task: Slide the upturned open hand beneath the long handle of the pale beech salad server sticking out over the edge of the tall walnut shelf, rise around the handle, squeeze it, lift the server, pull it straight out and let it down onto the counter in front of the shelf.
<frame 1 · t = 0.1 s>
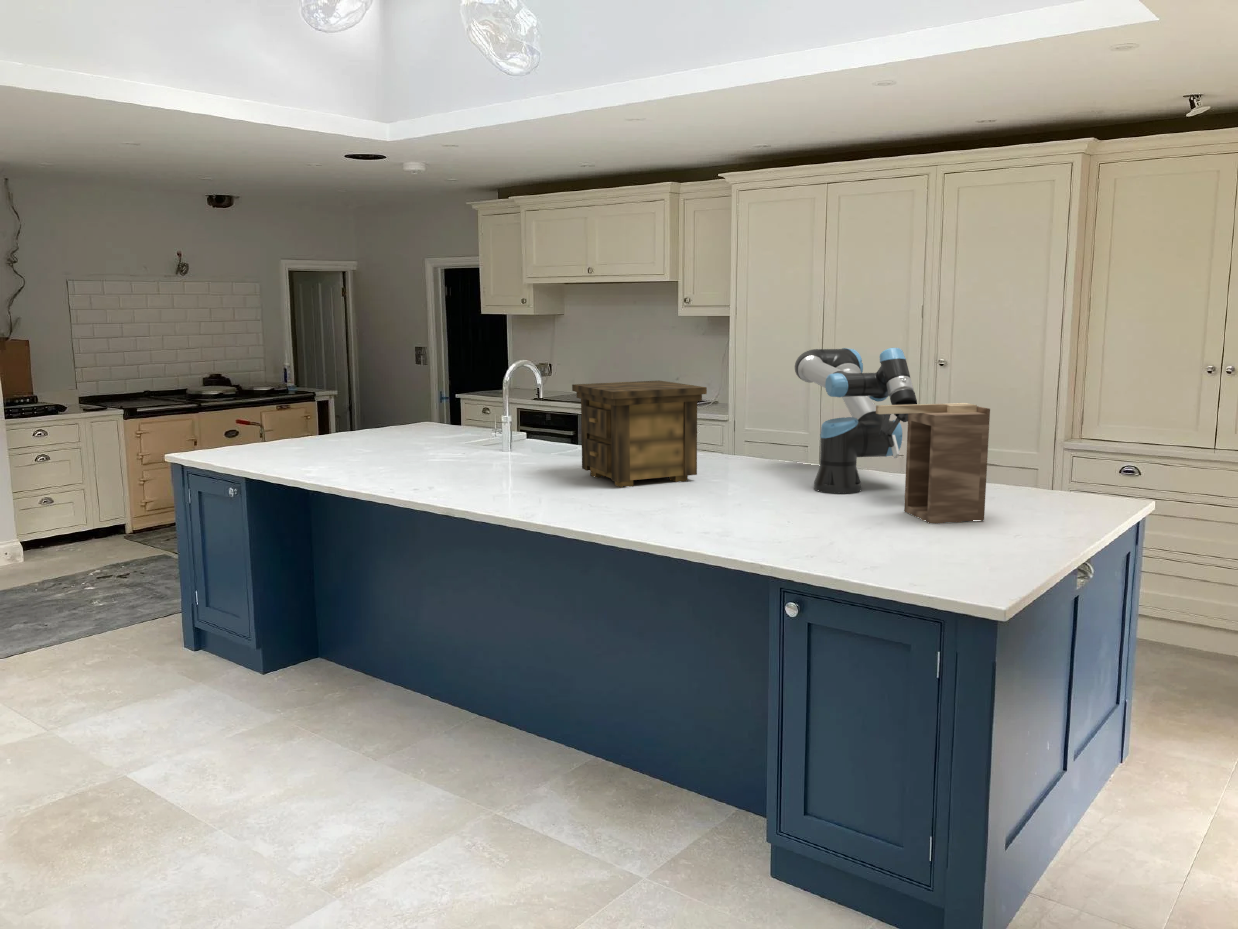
hand: (918, 455, 286), 15 cm above the countertop, tool tilted 35°, fingers open, 13 cm apart
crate: (638, 478, 339), on the countertop
walnut shelf: (943, 516, 274), on the countertop
salad server: (924, 412, 267), point 30 cm above the countertop, touching walnut shelf
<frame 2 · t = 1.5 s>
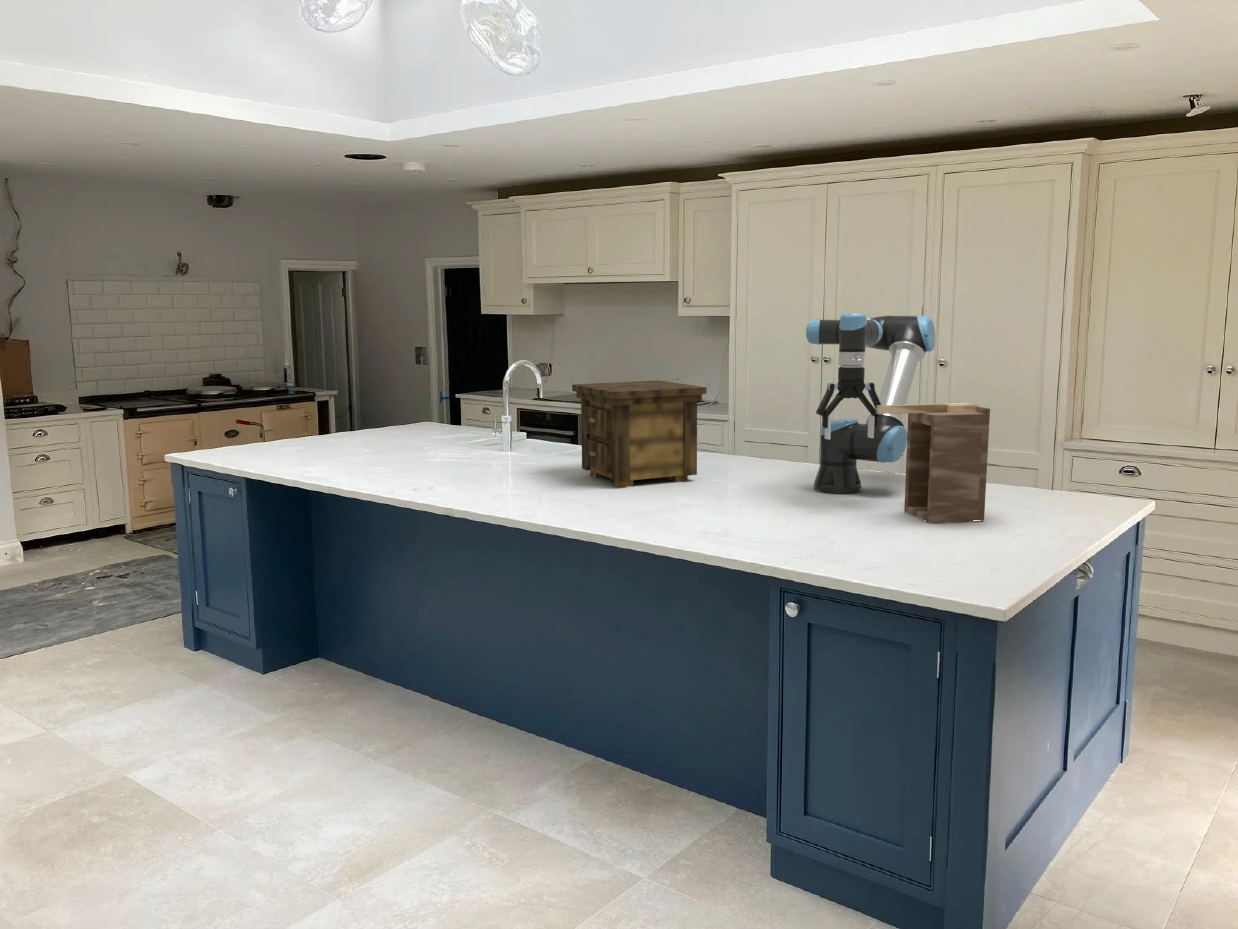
hand: (849, 438, 284), 21 cm above the countertop, tool pointing down, fingers open, 13 cm apart
nothing on the countertop moved.
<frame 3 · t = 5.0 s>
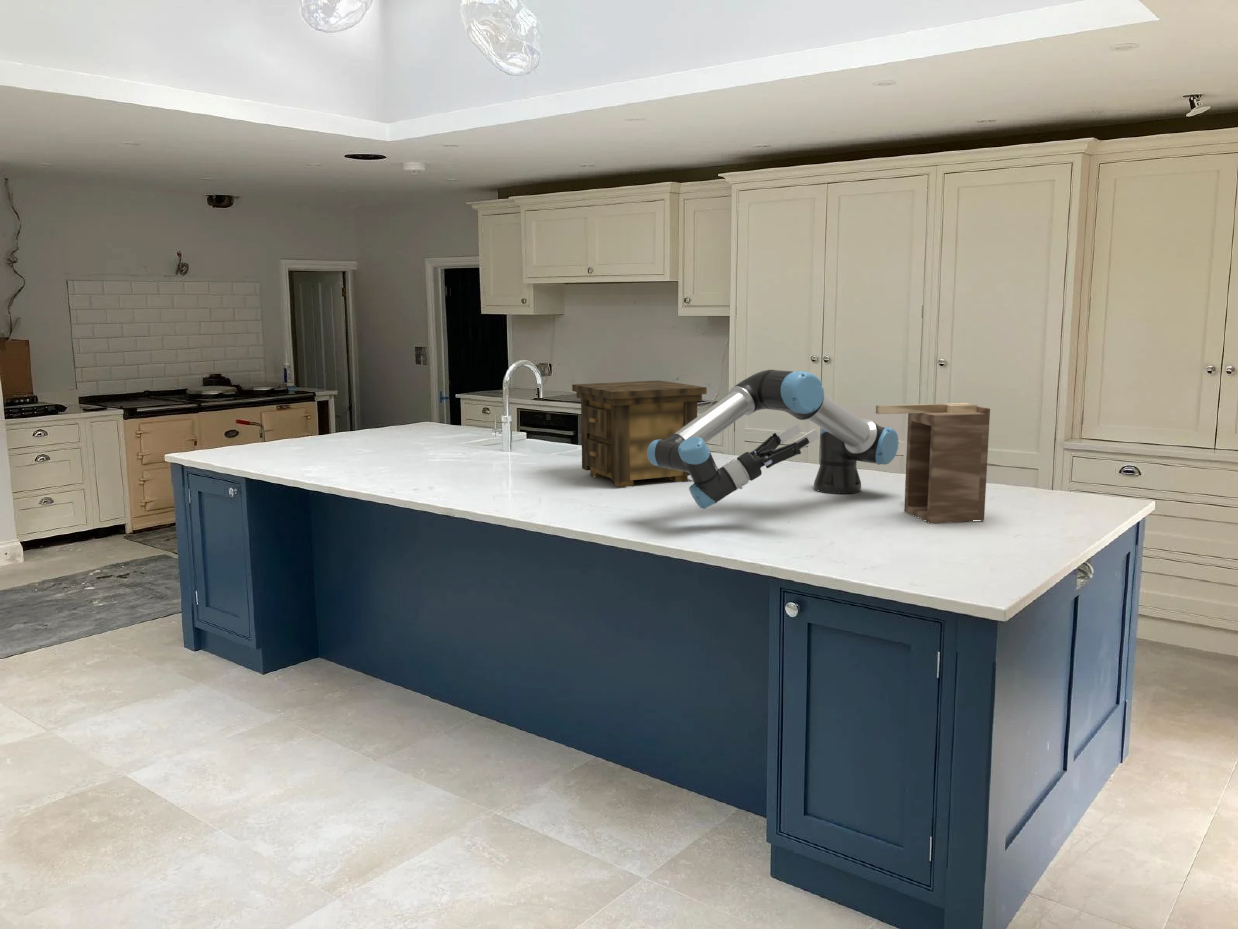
hand: (808, 430, 263), 26 cm above the countertop, tool pointing upward, fingers open, 13 cm apart
nothing on the countertop moved.
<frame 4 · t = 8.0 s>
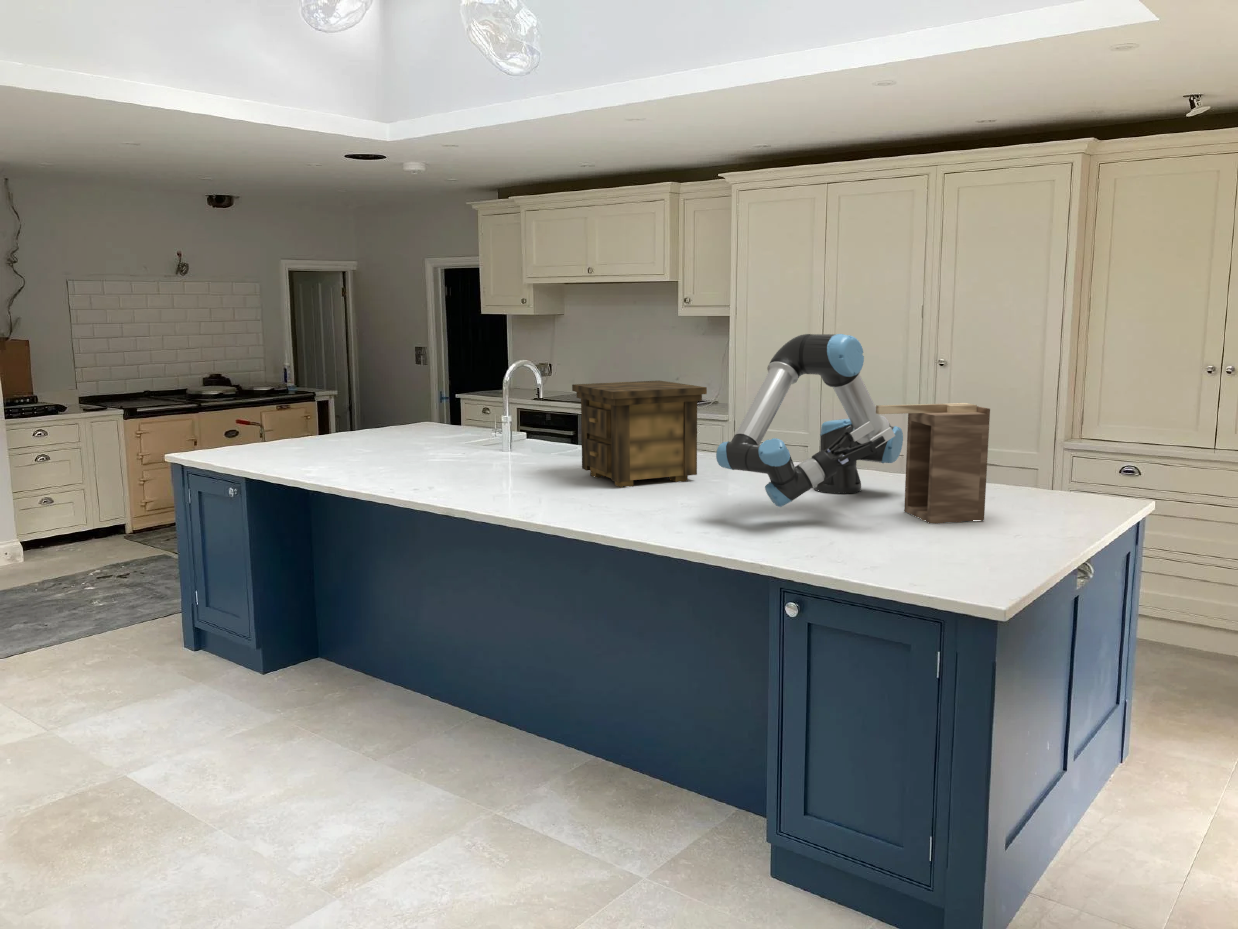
hand: (882, 428, 266), 26 cm above the countertop, tool pointing upward, fingers open, 13 cm apart
nothing on the countertop moved.
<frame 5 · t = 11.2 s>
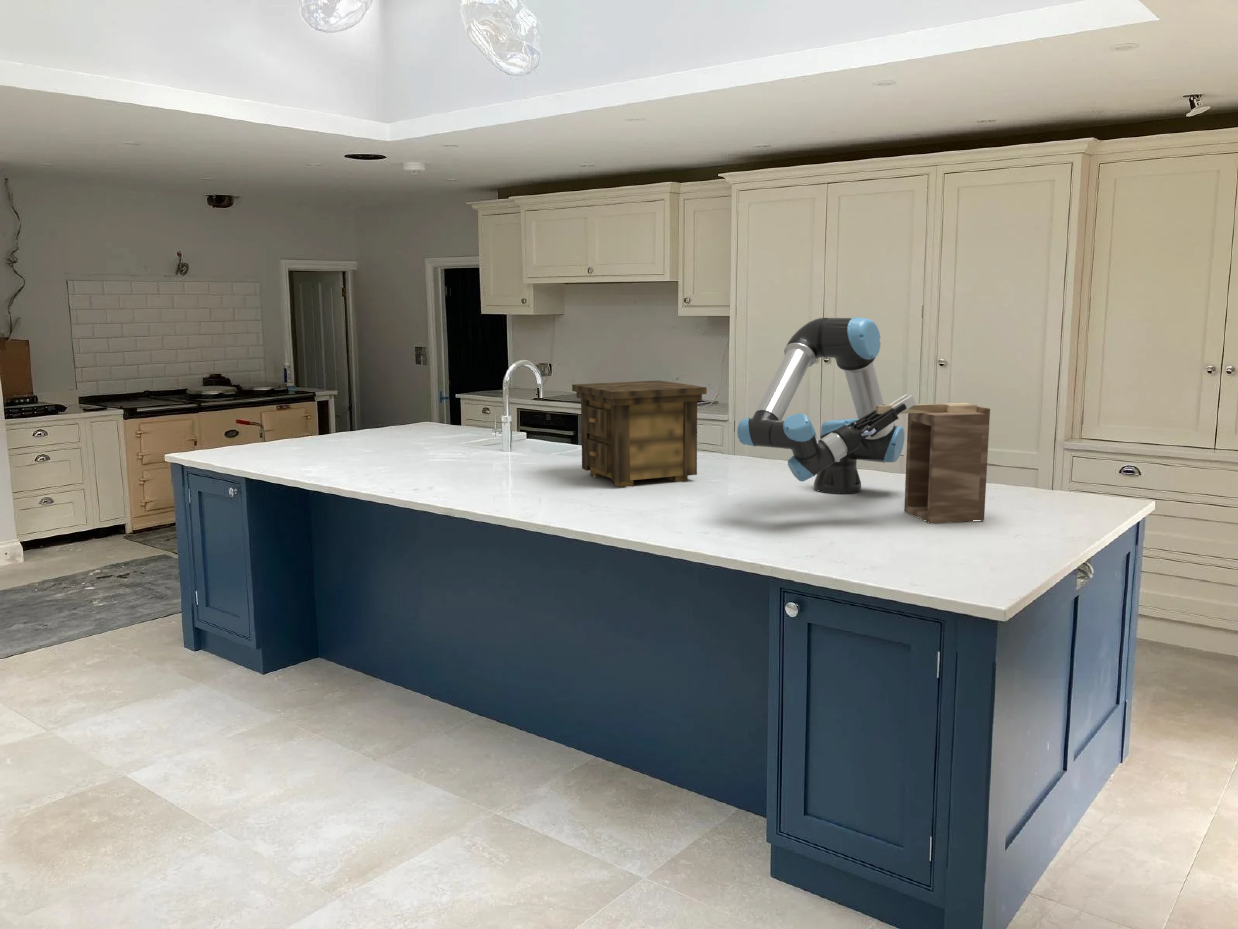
hand: (911, 398, 266), 34 cm above the countertop, tool pointing upward, fingers closed on salad server, 2 cm apart
salad server: (924, 412, 267), point 30 cm above the countertop, touching gripper
everything else where it was.
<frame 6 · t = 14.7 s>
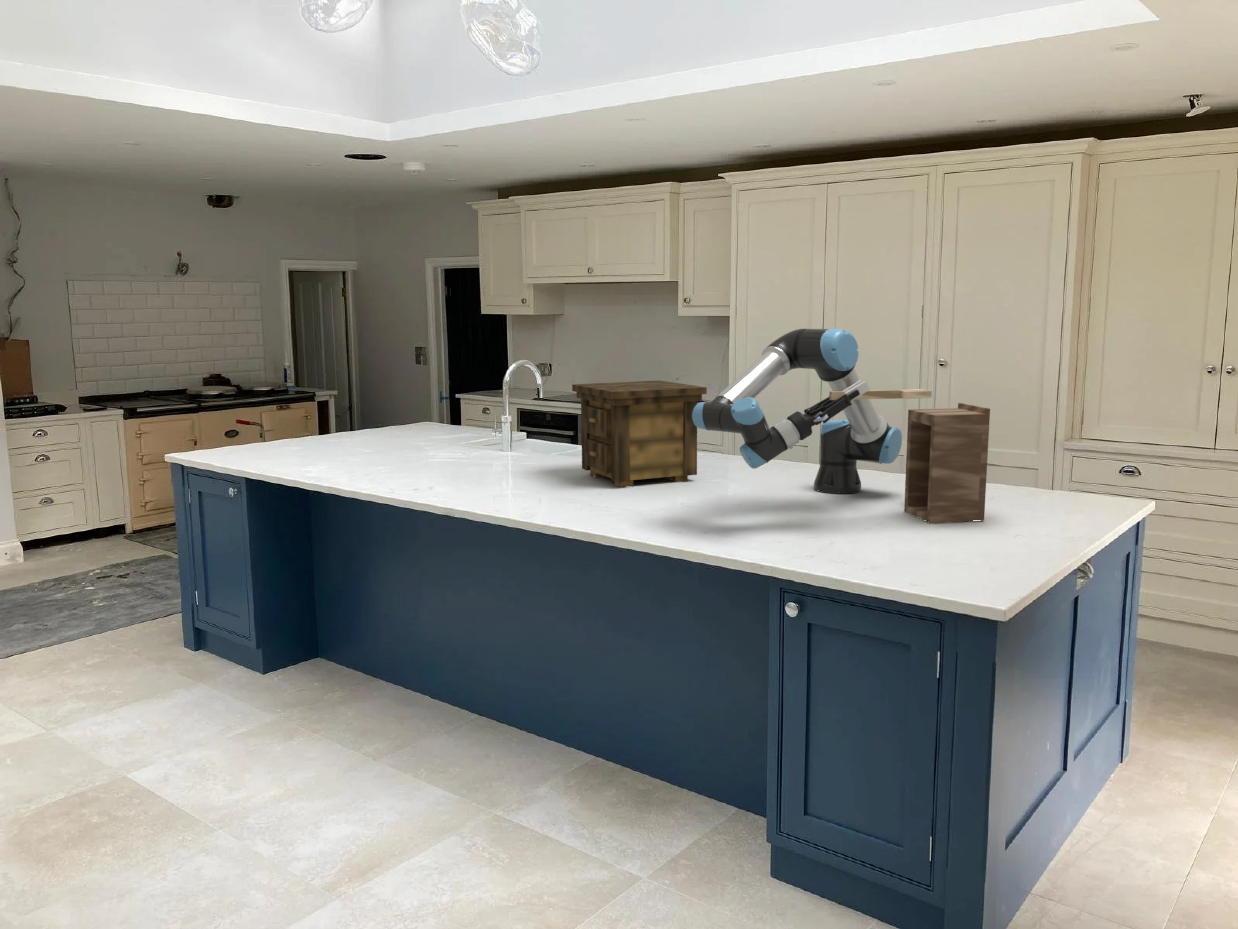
hand: (864, 384, 263), 38 cm above the countertop, tool pointing upward, fingers closed on salad server, 2 cm apart
salad server: (879, 398, 264), point 34 cm above the countertop, touching gripper
everything else where it was.
when the fingers open (26 cm above the countertop, at t = 18.4 s): salad server drops 22 cm, on the countertop.
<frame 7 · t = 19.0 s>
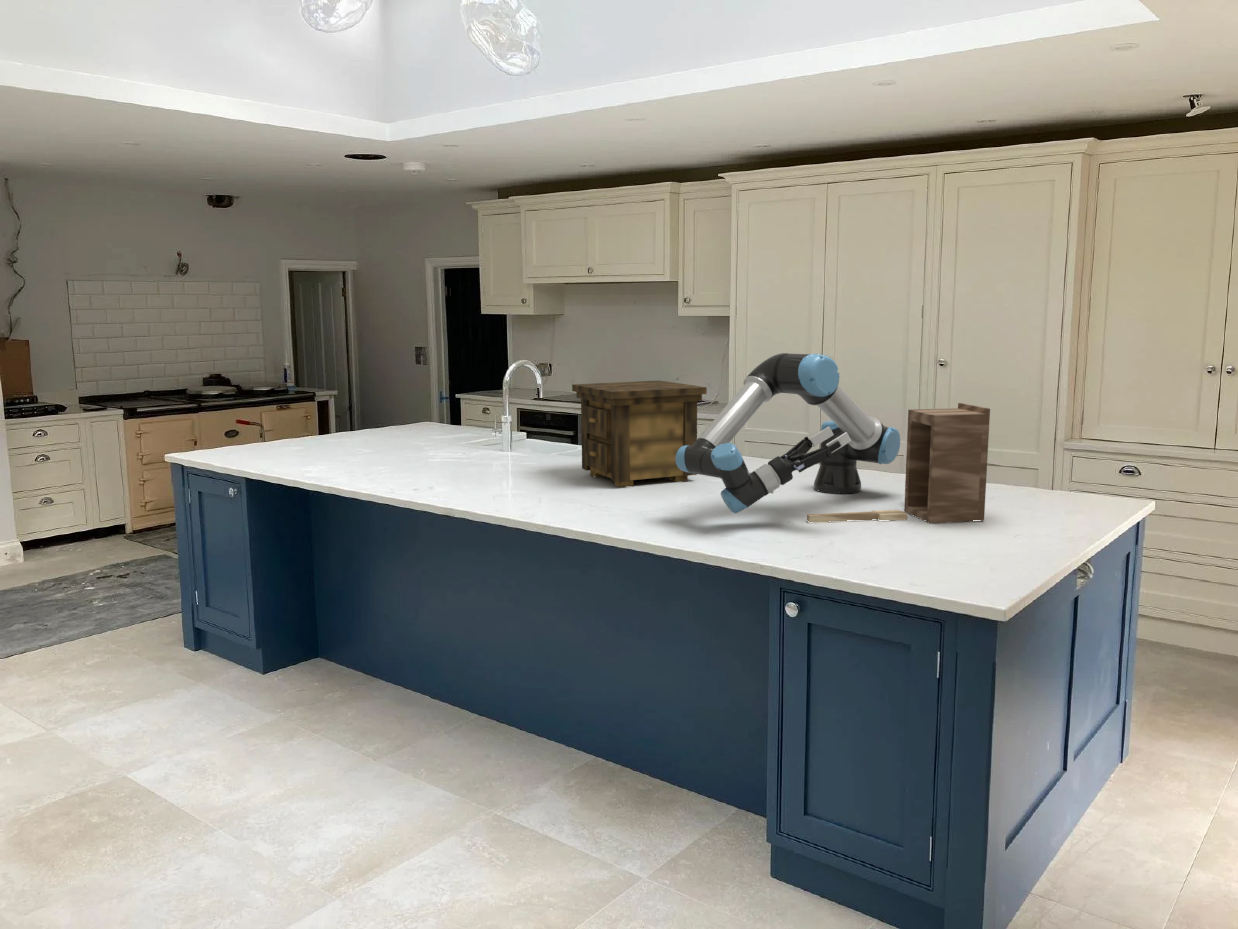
hand: (839, 433, 264), 25 cm above the countertop, tool pointing upward, fingers open, 12 cm apart
salad server: (855, 520, 270), on the countertop
everything else where it was.
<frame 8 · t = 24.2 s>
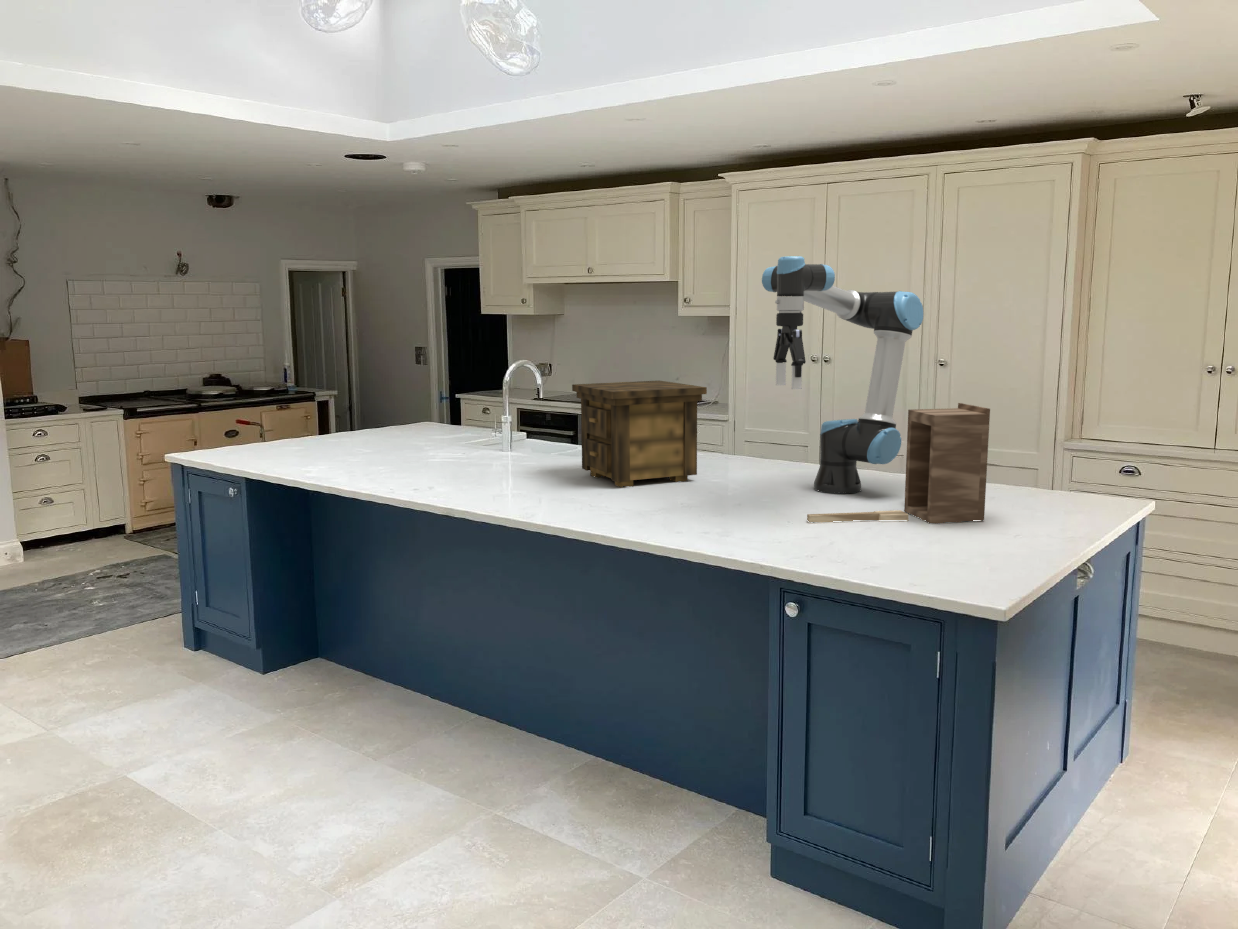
hand: (788, 387, 274), 37 cm above the countertop, tool pointing down, fingers open, 13 cm apart
nothing on the countertop moved.
at the end: salad server inside the target area (1.2 cm from its centre), on the countertop; salad server touching countertop; the gripper is holding nothing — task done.
